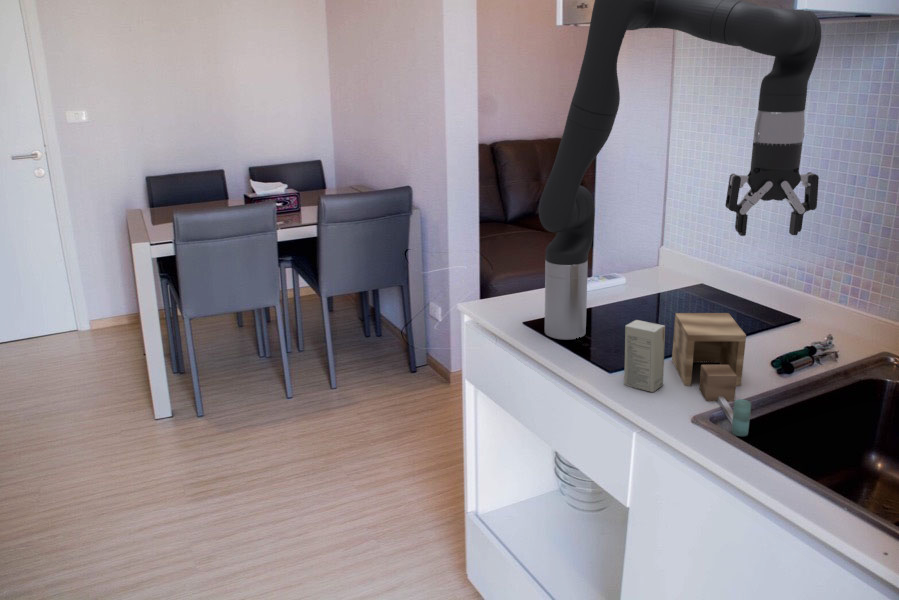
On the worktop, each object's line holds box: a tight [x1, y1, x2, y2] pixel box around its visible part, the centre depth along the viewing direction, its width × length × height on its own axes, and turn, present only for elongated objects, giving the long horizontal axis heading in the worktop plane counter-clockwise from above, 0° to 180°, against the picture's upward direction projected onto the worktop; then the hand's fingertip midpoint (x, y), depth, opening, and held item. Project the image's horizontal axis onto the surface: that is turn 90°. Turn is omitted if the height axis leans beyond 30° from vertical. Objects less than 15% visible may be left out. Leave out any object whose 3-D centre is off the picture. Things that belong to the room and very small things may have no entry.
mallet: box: [698, 364, 752, 437], centre depth 131 cm, size 18×5×6 cm, turn 176°
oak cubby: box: [671, 312, 747, 387], centre depth 145 cm, size 12×10×10 cm
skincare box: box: [623, 319, 666, 393], centre depth 140 cm, size 6×4×12 cm
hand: (767, 234), depth 128 cm, fingers open, 8 cm apart
